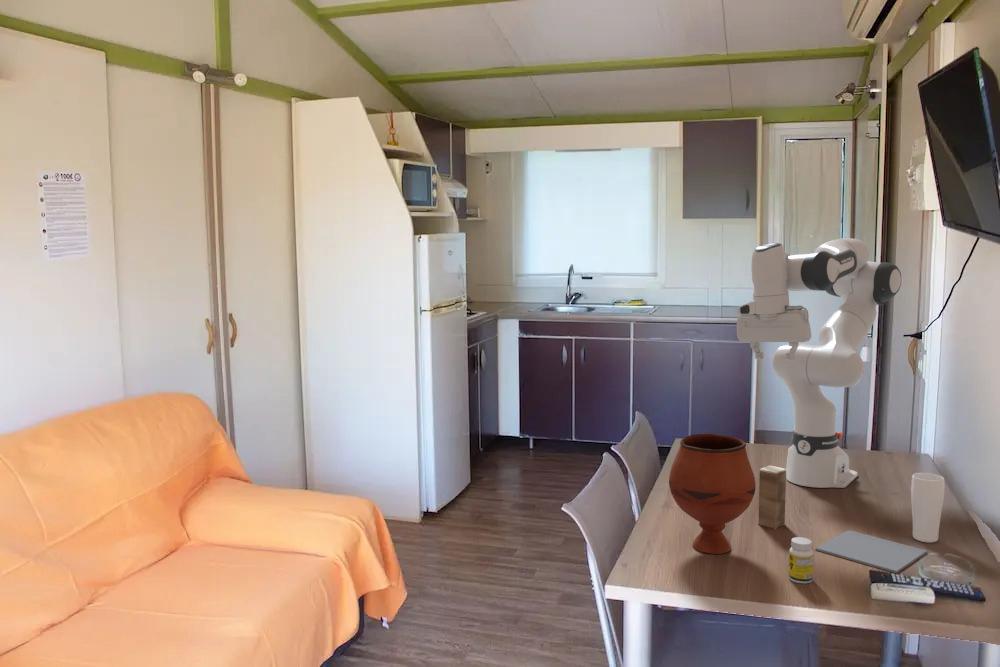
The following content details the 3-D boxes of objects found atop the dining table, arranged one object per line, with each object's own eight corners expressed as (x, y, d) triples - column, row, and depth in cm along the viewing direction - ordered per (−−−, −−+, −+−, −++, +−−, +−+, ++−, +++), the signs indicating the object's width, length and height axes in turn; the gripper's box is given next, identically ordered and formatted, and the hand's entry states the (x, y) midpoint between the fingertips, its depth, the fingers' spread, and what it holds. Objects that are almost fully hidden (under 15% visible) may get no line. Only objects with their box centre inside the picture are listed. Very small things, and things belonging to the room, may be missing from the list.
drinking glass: (948, 543, 193) (951, 480, 191) (921, 545, 191) (924, 481, 190) (928, 533, 199) (931, 471, 197) (902, 535, 198) (905, 473, 196)
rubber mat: (848, 532, 201) (848, 530, 201) (927, 552, 187) (927, 550, 187) (815, 550, 190) (815, 547, 190) (896, 573, 177) (896, 571, 177)
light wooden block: (768, 519, 210) (769, 465, 208) (784, 524, 207) (786, 468, 205) (758, 524, 207) (759, 469, 205) (775, 528, 204) (776, 472, 202)
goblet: (679, 527, 206) (680, 427, 202) (760, 538, 197) (763, 435, 194) (659, 555, 188) (659, 446, 185) (747, 569, 180) (749, 455, 177)
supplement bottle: (788, 573, 178) (789, 535, 176) (811, 575, 176) (813, 537, 175) (788, 582, 173) (790, 543, 172) (813, 585, 172) (814, 545, 171)
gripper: (814, 304, 212) (817, 358, 213) (746, 306, 228) (749, 357, 229) (800, 306, 208) (803, 361, 209) (731, 308, 224) (735, 359, 225)
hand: (774, 359), depth 219 cm, fingers open, 8 cm apart
